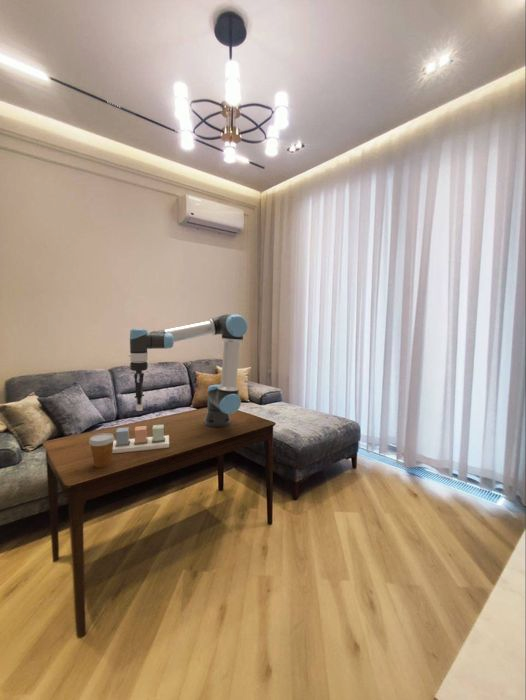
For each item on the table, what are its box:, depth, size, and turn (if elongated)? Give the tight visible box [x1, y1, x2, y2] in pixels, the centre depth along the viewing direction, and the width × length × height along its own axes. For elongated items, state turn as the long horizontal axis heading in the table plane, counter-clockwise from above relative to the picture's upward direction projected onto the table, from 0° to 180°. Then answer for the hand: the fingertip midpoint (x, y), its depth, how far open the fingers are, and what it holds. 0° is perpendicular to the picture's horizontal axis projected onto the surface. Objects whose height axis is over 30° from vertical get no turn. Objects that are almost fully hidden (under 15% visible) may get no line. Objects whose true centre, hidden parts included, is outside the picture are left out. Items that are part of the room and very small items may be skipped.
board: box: [112, 434, 170, 455], centre depth 147 cm, size 26×11×2 cm, turn 108°
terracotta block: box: [134, 425, 148, 443], centre depth 146 cm, size 5×5×6 cm
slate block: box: [115, 427, 130, 445], centre depth 144 cm, size 5×5×6 cm
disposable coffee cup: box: [88, 432, 116, 469], centre depth 128 cm, size 10×10×12 cm
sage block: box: [152, 424, 165, 441], centre depth 149 cm, size 5×5×6 cm
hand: (139, 410), depth 145 cm, fingers closed
